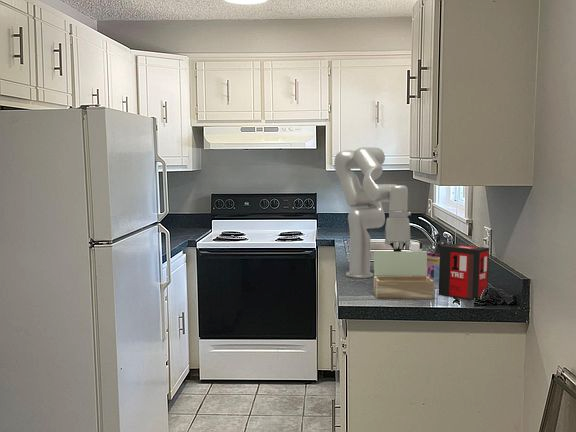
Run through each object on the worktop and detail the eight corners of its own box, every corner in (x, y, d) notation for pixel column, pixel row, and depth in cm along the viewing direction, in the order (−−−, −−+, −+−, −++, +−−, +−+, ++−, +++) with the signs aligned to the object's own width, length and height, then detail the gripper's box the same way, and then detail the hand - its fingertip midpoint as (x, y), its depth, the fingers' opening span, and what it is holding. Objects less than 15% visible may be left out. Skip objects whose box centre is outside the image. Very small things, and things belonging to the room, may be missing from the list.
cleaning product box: (438, 295, 245) (440, 245, 243) (448, 291, 251) (450, 243, 249) (477, 301, 234) (479, 250, 232) (487, 297, 240) (489, 247, 238)
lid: (374, 275, 246) (373, 275, 247) (427, 275, 247) (426, 275, 247) (374, 251, 247) (373, 251, 248) (426, 251, 247) (426, 251, 248)
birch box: (373, 293, 247) (373, 276, 246) (427, 293, 247) (427, 276, 247) (377, 298, 237) (377, 281, 236) (433, 299, 237) (433, 281, 237)
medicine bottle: (412, 263, 318) (412, 240, 317) (425, 264, 314) (425, 241, 313) (406, 265, 312) (407, 242, 311) (419, 266, 308) (420, 243, 307)
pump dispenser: (426, 270, 297) (427, 240, 295) (439, 268, 304) (440, 238, 302) (444, 274, 289) (445, 242, 288) (456, 271, 296) (457, 240, 294)
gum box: (408, 284, 265) (409, 253, 264) (417, 281, 271) (418, 251, 270) (459, 292, 250) (461, 259, 248) (468, 289, 256) (469, 257, 254)
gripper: (414, 214, 257) (413, 257, 258) (378, 214, 257) (378, 257, 258) (418, 215, 249) (417, 259, 251) (381, 215, 249) (381, 259, 251)
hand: (397, 258), depth 255 cm, fingers closed
